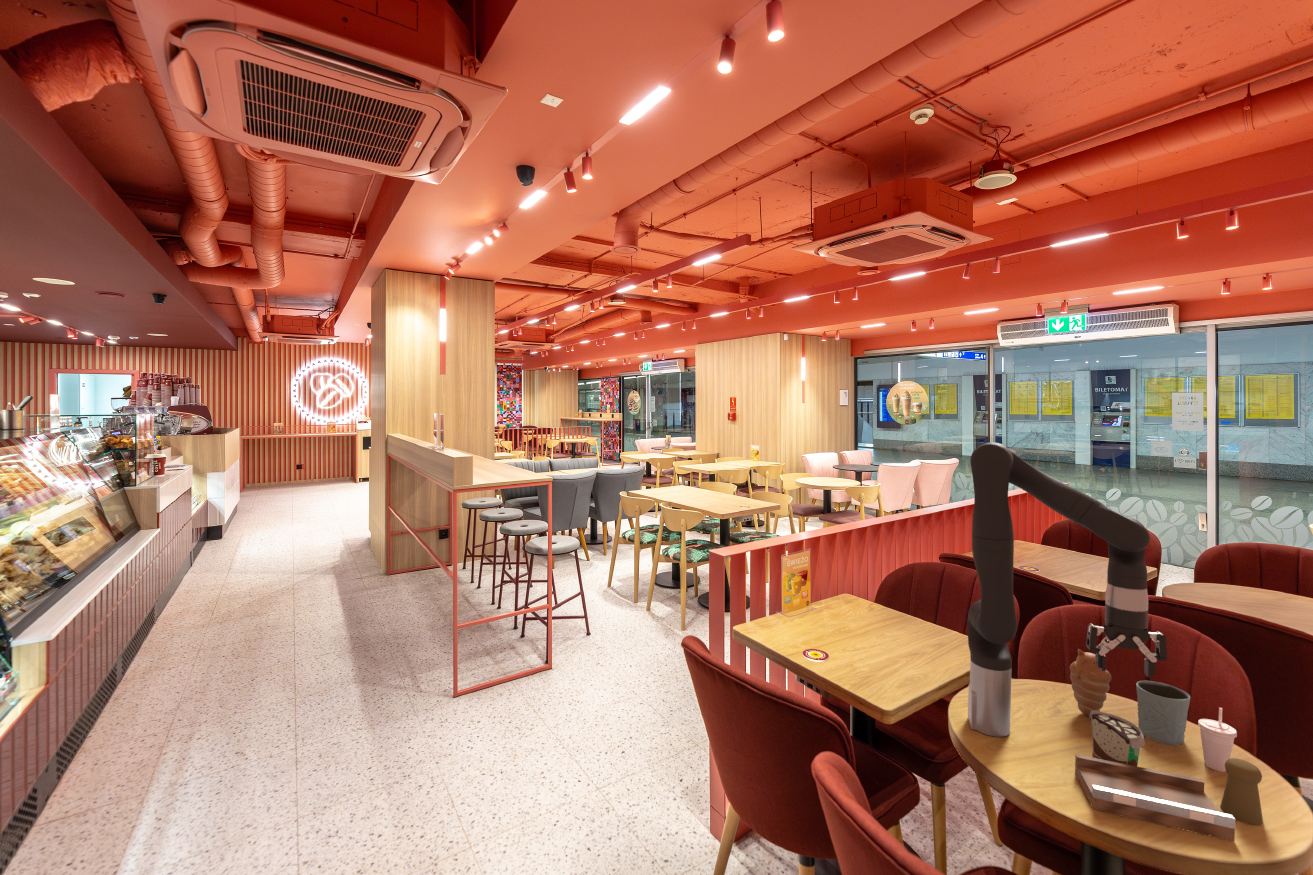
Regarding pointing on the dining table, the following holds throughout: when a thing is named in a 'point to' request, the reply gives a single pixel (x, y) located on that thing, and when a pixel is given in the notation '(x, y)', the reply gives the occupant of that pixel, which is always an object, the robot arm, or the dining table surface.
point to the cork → (1242, 792)
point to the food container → (1115, 738)
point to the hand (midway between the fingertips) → (1124, 672)
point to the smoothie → (1216, 742)
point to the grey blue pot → (1162, 712)
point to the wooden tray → (1152, 797)
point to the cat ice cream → (1089, 682)
